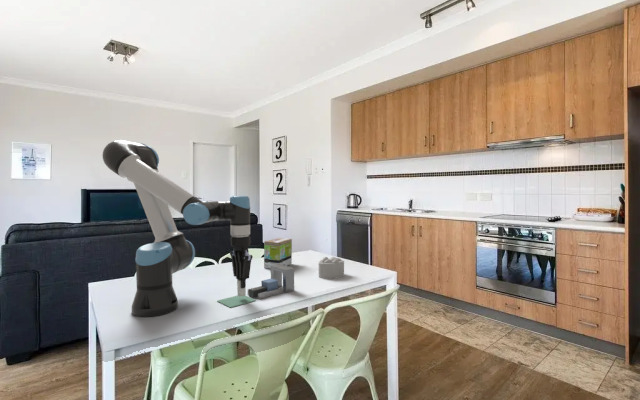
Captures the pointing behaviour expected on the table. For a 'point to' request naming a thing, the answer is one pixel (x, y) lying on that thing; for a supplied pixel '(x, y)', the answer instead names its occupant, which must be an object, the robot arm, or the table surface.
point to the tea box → (277, 252)
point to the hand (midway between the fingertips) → (241, 295)
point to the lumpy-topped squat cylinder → (331, 268)
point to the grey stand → (280, 280)
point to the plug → (263, 287)
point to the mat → (236, 301)
